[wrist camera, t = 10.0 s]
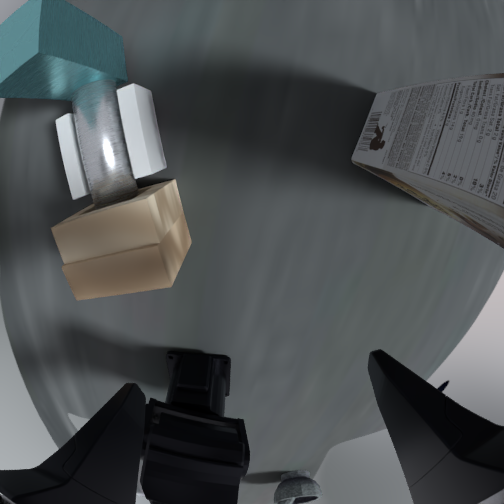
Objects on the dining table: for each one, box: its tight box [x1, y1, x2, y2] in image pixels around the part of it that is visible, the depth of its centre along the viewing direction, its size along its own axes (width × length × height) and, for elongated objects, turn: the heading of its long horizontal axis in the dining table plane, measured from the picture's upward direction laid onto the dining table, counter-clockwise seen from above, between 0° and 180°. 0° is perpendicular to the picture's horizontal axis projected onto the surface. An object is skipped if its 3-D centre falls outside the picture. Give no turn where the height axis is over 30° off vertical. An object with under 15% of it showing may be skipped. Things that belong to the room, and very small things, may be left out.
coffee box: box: [351, 73, 504, 248], centre depth 11 cm, size 9×6×16 cm
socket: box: [51, 179, 192, 300], centre depth 17 cm, size 5×7×7 cm
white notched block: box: [56, 83, 167, 200], centre depth 16 cm, size 6×6×3 cm
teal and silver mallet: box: [0, 0, 139, 210], centre depth 11 cm, size 14×4×10 cm, turn 10°
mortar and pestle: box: [274, 470, 322, 504], centre depth 37 cm, size 11×9×12 cm
